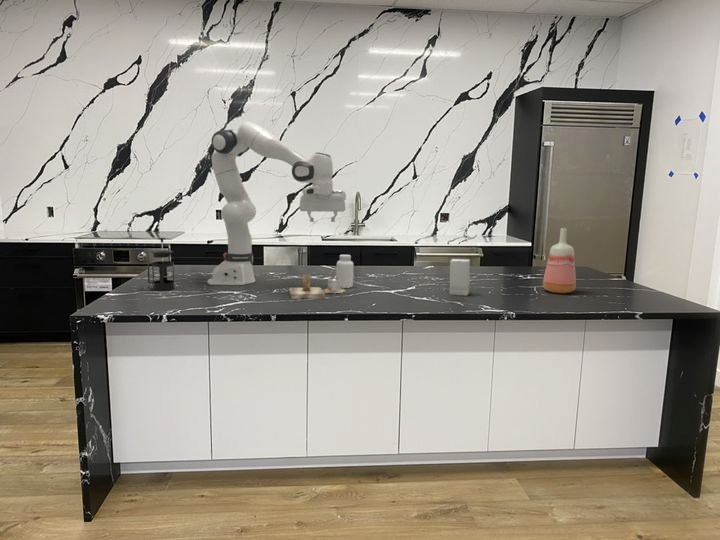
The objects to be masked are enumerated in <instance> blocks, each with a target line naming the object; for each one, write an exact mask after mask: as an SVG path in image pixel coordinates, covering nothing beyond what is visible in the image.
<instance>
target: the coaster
mask: <svg viewBox="0 0 720 540" xmlns="http://www.w3.org/2000/svg"><path fill="white" fill-rule="evenodd" d="M322 290H323V292H324V293H325V294H327V293H334V294H333V295H337V294H336V293H341V294H344V293H346V290H345V288H340V291H337V292H333V291H328V288H324V289H322ZM343 292H344V293H343Z"/></svg>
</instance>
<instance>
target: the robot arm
mask: <svg viewBox="0 0 720 540" xmlns="http://www.w3.org/2000/svg"><path fill="white" fill-rule="evenodd" d="M211 146H212V148H213V150H215V151H214V152H212V154H211V163H212V164H211V165H212V170H213V173H214V176H215V179H216V180H215V181H216V182H217V186H218V189H219V192H220V194H221V195H223V197H224V199H225V201H226V204H224V206H223V207H222V209H221V213H220V215H221V218H222V220H223V221H224V225H225V229H226V236H227V252H224V253H223V254H222V255H223V261H222V262H221V263H220V264H218V265H217V266H215V268H213V270H212V274H211V278H209V279H207V284H208V285H210V286H211V285H213V286H243V285H248V284H252V283H255V282H256V279H255V275H254V274H255V273H254V270H253V268H254V267H253V264H254V255H253V251H252V250H253V249H252V247H253V245H252V244H253V243H252V242H253V240H252V239H253V238H252V234H251V233H250V228H249V224H248V223H250V222H251V221H252V220H253V219H255V217H256V215H257V210H256V209H257V208H256V206H255V205H254V204H253V202H252V201H251V198H250V197H249V194H248V192H247V190H246V189H245V187H244V184H243V181H242V178H241V174H240V171H239V169H238V166H237V162H236V158H237V157H239V158H240V157H242V155H243V154H245V153H246V152H248V151H249V150H252V151H253V152H254V153H256V154H257V155H260V156H261V157H264V158H266V159H273V160H278V161H282V162H284V163H287V164H288V165H290V167H291V166H292V167H291V174H292V178H293V179H294V180H295V181H297V182H299V183H307V184H308V183H310V184H312V185H311V186H307V188H304V189H302V190H301V191H302V195H301V196H300V200H299V207H298V209H299V211H300V212H307V213H306V214H307V215H308V217H309V223H314V220H315V219H314V217H313V216H311V214H312V212H326V213H327V212H329V213H330V212H333V216H332V217H331V218H330V222H331V223H335V222H336V217H337V215H338V212H339V213H340V212H341V213H342V212H345V210H346V199H347V196H346V195H347V193H345V191H343V190H333V186H334V183H333V174H334V169H333V168H334V167H333V166H334V165H333V160H332V159H333V158H332V156H331V155H330V154H328V153H325V152H324V153H323V152H315V153H313V154H312V155H311V156H309V157H307V158H306V157H304V156H303V155H301V154H299V153H298V152H296V151H295V150H293V149H292V148H290V147H289V146H287V145H286V144H285V143H284V142H283V141H281V140H280V139H278V138H277V137H276V136H275V135H273V133H271V132H270V131H269V130H267V129H265V128H264V127H263V126H261V125H259V124H258V123H257V124H256V123H254V122H251V121H245V122H242V123H241V125H240V126H239V127H238V129H233V128H231V129H220V130H218V131H215V133H213V135H212V137H211Z"/></svg>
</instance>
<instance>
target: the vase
mask: <svg viewBox="0 0 720 540" xmlns="http://www.w3.org/2000/svg"><path fill="white" fill-rule="evenodd" d="M567 231H568V229H567V228H564V227H562V228H561V227H560V232H559V241H558V242H557V243H556V244H553V245H552V246H551V247H550V249H549V254H548V257H547V263H546V266H545V269H544V270H545V271H544V274H543V275H544V276H543V280H542V281H543V282H542V287H543V289H544V290H546V291H547V292H549V293H553V294H571V293H572V292H574V291H575V289H576V288H577V287H576V285H577V280H576V279H577V278H576V264H575V263H576V262H575V261H576V260H575V249H574V247H573V246H572V245H570V244H568V243H567V235H568V234H567Z"/></svg>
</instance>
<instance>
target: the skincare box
mask: <svg viewBox="0 0 720 540" xmlns="http://www.w3.org/2000/svg"><path fill="white" fill-rule="evenodd" d="M470 269H471V259H466V258H465V259H463V258H462V259H461V258H452V259H450V261H449V295H450V294H451V295H452V296H468V295H469V294H470V273H471V270H470Z"/></svg>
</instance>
